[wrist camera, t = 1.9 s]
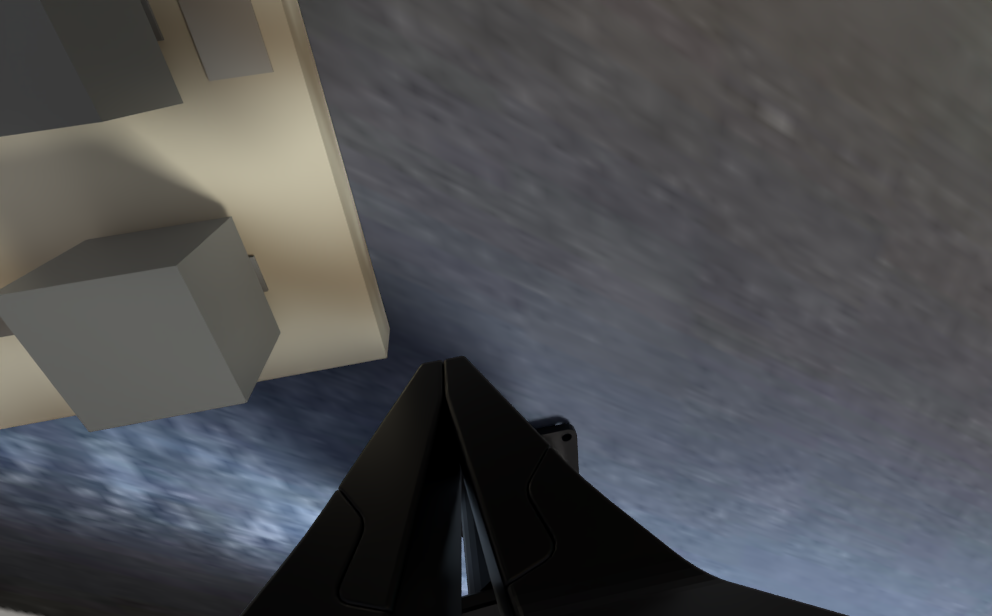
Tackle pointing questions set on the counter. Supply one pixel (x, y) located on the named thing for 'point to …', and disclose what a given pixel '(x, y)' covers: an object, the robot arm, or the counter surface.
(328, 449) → the counter surface
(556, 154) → the counter surface
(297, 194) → the switch panel
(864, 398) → the counter surface
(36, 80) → the tab middle
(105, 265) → the grey boxy piece
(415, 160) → the counter surface
